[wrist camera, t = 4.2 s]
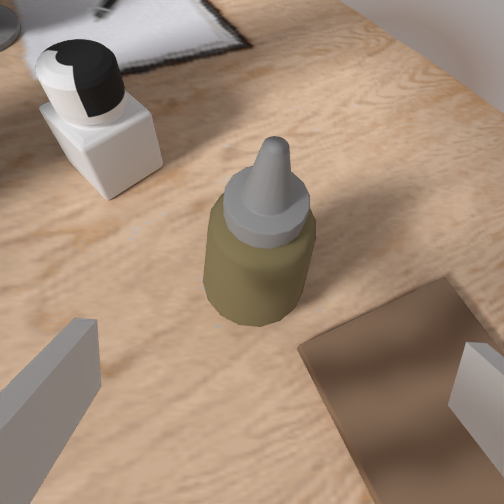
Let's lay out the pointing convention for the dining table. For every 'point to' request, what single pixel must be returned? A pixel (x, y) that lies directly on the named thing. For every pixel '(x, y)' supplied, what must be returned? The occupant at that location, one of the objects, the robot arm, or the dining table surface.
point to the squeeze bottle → (260, 240)
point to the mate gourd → (8, 27)
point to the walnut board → (406, 399)
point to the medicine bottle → (97, 116)
